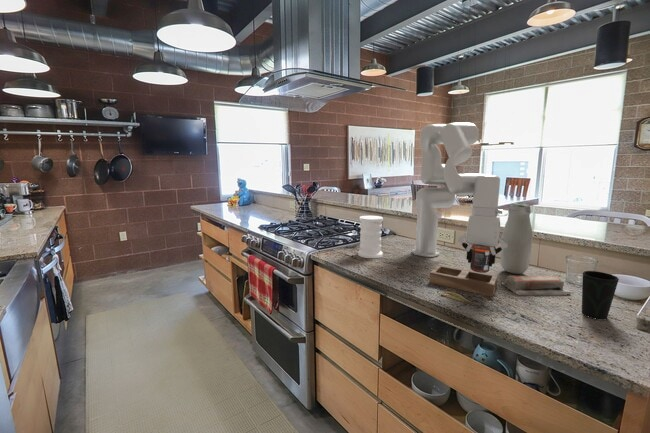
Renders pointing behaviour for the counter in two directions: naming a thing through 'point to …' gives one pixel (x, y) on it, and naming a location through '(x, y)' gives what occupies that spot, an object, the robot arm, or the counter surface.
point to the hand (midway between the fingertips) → (480, 263)
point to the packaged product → (535, 285)
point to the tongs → (459, 297)
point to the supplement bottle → (480, 258)
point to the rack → (464, 280)
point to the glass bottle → (517, 239)
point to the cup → (597, 293)
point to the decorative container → (370, 236)
